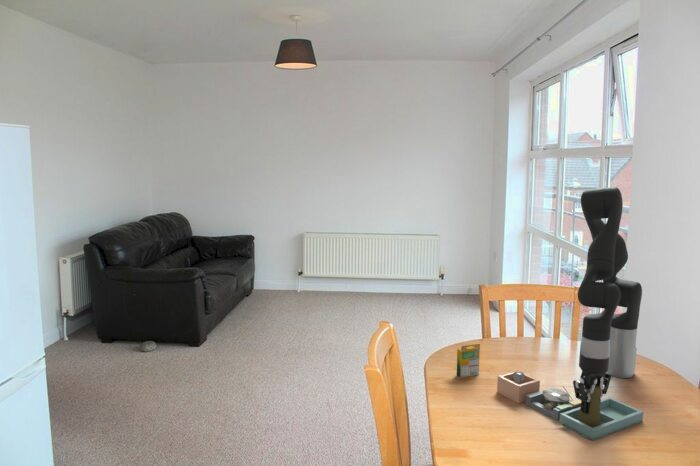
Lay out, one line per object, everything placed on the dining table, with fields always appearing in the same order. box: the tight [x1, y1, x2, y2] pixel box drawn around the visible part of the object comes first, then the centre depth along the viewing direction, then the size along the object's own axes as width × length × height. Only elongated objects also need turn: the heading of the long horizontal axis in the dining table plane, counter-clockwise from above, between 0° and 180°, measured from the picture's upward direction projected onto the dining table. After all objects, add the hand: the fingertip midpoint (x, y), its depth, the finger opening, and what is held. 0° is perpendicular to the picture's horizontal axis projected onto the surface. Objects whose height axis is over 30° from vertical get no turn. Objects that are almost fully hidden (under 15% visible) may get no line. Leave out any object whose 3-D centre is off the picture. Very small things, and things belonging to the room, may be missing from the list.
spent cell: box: [513, 370, 525, 384], centre depth 175 cm, size 3×3×7 cm
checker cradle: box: [525, 386, 581, 422], centre depth 167 cm, size 12×12×4 cm
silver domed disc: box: [542, 388, 571, 408], centre depth 166 cm, size 8×8×4 cm
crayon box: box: [456, 343, 481, 378], centre depth 191 cm, size 7×3×12 cm, turn 108°
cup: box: [496, 370, 541, 404], centre depth 175 cm, size 9×9×6 cm
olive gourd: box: [578, 386, 602, 427], centre depth 156 cm, size 6×6×11 cm
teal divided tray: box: [559, 396, 644, 441], centre depth 159 cm, size 22×11×3 cm, turn 120°
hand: (590, 410), depth 156 cm, fingers closed on olive gourd, 3 cm apart
